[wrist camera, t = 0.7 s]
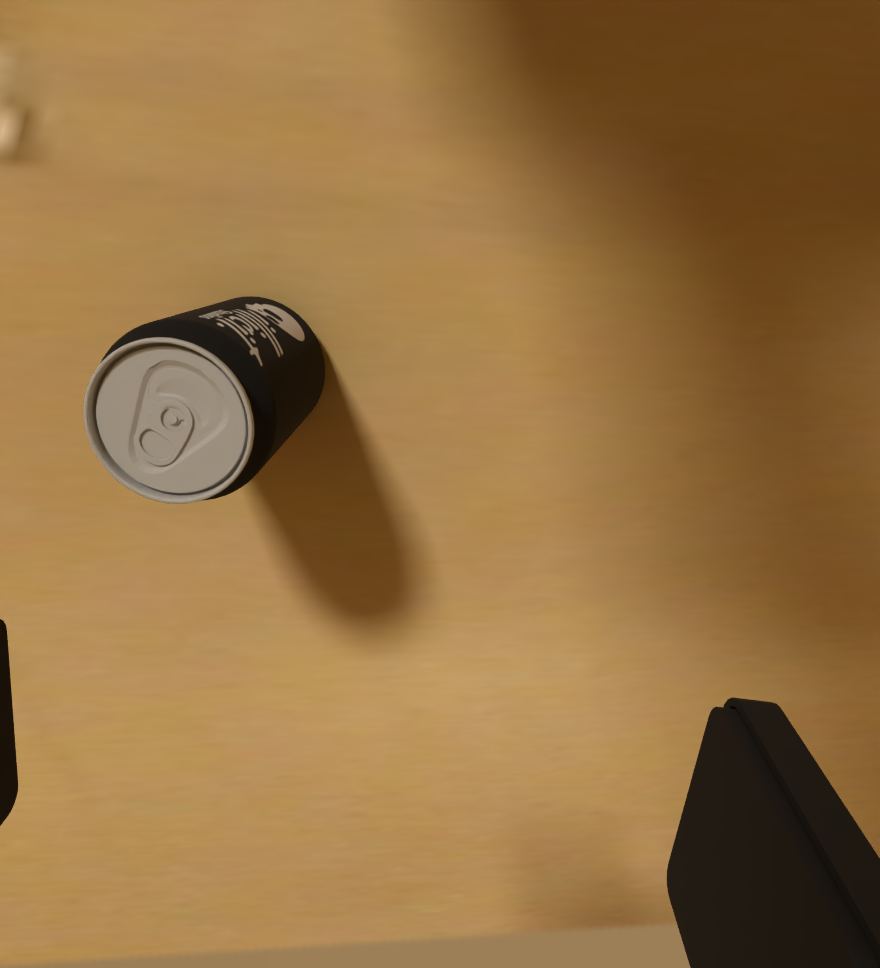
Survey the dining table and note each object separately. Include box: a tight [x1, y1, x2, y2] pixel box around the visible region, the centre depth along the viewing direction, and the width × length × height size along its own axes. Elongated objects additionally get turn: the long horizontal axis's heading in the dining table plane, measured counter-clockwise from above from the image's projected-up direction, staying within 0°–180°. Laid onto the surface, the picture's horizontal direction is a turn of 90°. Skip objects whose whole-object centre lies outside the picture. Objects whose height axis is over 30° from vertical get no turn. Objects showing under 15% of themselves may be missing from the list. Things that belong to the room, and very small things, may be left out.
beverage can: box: [84, 297, 325, 504], centre depth 31 cm, size 7×7×12 cm
